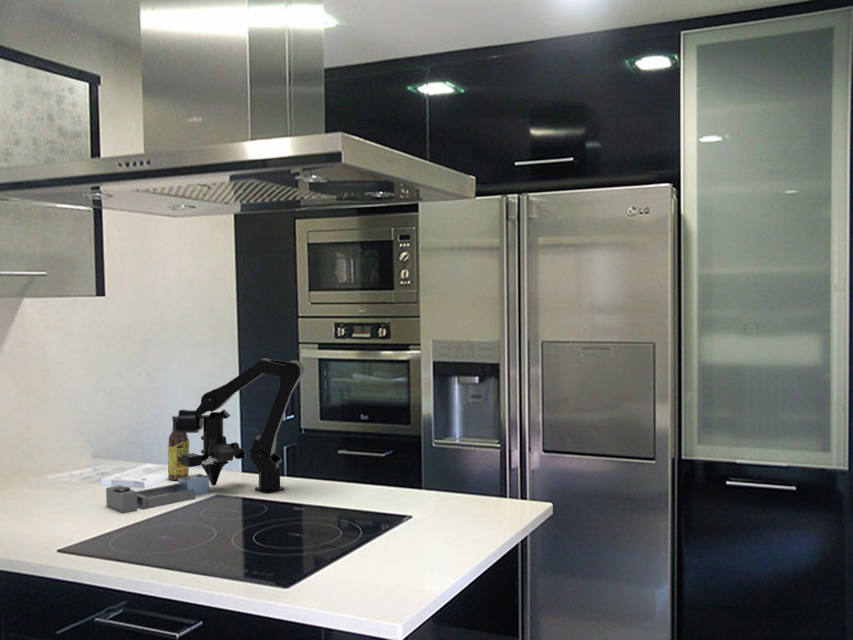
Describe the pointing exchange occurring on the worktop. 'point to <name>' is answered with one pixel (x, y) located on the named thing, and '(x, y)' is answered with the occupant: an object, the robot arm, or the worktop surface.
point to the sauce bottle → (177, 453)
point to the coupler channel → (145, 497)
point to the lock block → (194, 483)
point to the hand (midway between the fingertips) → (213, 485)
